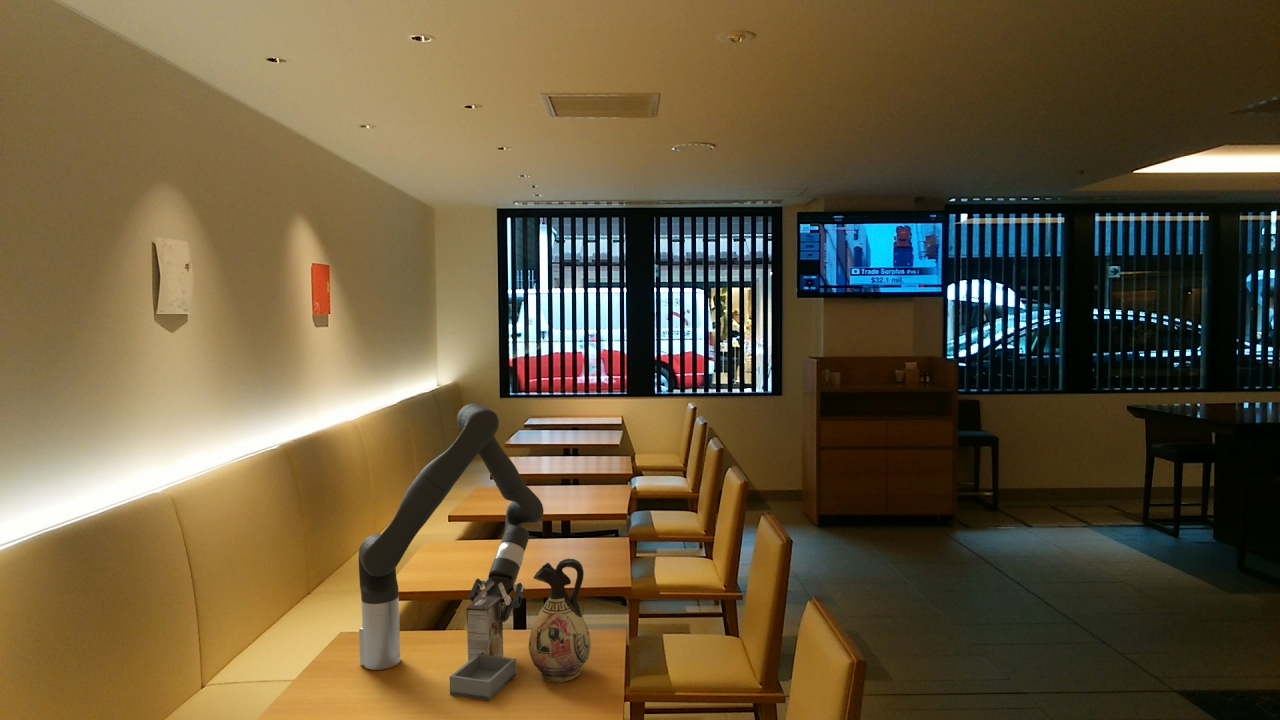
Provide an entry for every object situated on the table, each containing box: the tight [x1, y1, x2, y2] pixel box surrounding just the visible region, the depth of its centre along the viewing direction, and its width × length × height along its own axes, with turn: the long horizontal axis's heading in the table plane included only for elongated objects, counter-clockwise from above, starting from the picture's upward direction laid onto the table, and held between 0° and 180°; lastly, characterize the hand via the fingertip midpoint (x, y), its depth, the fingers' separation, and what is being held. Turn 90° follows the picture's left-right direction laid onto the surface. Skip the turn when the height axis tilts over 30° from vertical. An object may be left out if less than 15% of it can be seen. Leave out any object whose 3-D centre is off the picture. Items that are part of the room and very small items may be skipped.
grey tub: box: [449, 654, 517, 702], centre depth 199 cm, size 11×14×4 cm
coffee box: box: [466, 596, 504, 662], centre depth 212 cm, size 9×6×16 cm
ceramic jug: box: [528, 558, 592, 683], centre depth 204 cm, size 17×15×30 cm
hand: (487, 619), depth 213 cm, fingers open, 8 cm apart
